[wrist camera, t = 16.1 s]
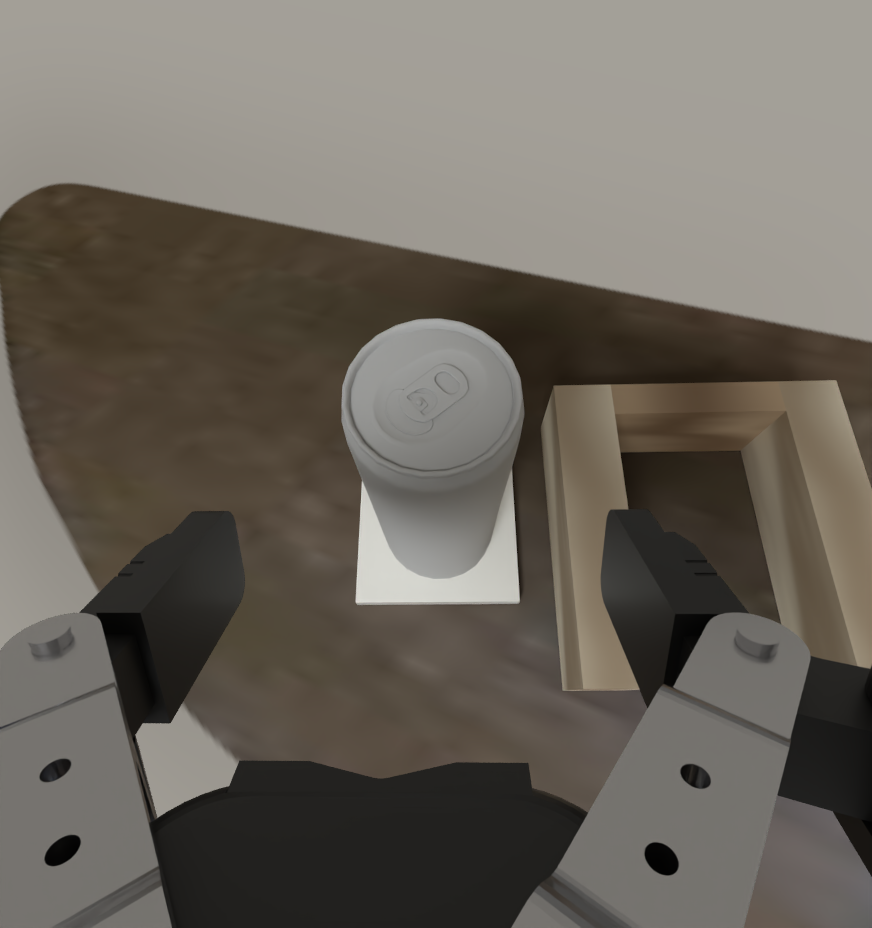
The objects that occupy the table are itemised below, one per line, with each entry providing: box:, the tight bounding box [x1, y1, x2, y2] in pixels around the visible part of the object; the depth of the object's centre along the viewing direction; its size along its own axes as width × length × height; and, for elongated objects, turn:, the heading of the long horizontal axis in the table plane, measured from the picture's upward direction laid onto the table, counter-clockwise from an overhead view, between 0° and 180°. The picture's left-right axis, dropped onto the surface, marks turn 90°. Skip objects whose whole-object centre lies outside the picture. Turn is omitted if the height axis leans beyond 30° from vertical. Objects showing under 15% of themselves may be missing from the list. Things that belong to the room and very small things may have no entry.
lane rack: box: [541, 380, 872, 691], centre depth 23 cm, size 12×12×4 cm
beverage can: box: [342, 318, 524, 579], centre depth 19 cm, size 5×5×12 cm
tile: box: [356, 469, 520, 605], centre depth 25 cm, size 7×7×1 cm
